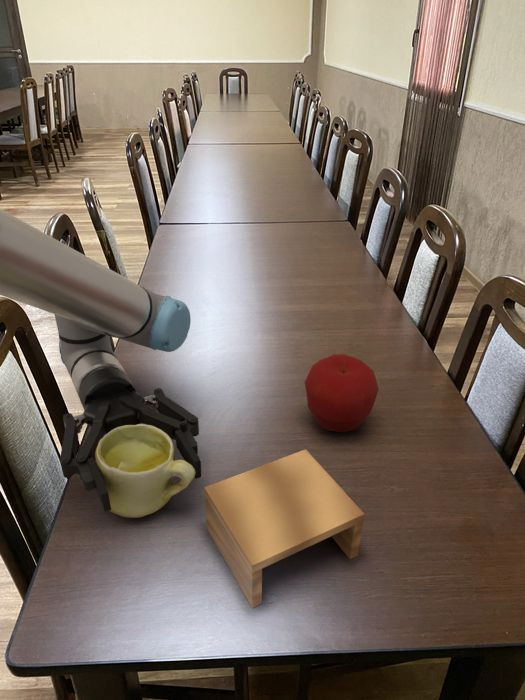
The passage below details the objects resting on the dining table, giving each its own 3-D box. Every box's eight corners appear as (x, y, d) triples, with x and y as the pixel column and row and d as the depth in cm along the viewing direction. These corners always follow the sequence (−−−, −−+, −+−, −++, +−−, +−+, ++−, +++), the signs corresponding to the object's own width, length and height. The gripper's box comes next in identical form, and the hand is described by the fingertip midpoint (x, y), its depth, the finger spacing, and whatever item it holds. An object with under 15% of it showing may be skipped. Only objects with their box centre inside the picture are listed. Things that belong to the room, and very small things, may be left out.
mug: (66, 498, 66) (85, 430, 62) (123, 468, 75) (143, 408, 71) (140, 556, 61) (165, 487, 58) (192, 518, 70) (215, 456, 67)
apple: (299, 403, 88) (303, 341, 82) (364, 402, 88) (372, 341, 82) (306, 448, 79) (310, 382, 72) (379, 447, 79) (389, 381, 73)
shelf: (252, 608, 57) (252, 565, 53) (206, 528, 66) (203, 487, 62) (358, 555, 63) (364, 513, 59) (303, 488, 72) (305, 448, 68)
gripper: (179, 388, 85) (242, 476, 69) (27, 431, 76) (57, 545, 59) (176, 347, 82) (241, 430, 65) (15, 388, 72) (44, 497, 55)
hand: (154, 485), depth 62 cm, fingers closed on mug, 10 cm apart
